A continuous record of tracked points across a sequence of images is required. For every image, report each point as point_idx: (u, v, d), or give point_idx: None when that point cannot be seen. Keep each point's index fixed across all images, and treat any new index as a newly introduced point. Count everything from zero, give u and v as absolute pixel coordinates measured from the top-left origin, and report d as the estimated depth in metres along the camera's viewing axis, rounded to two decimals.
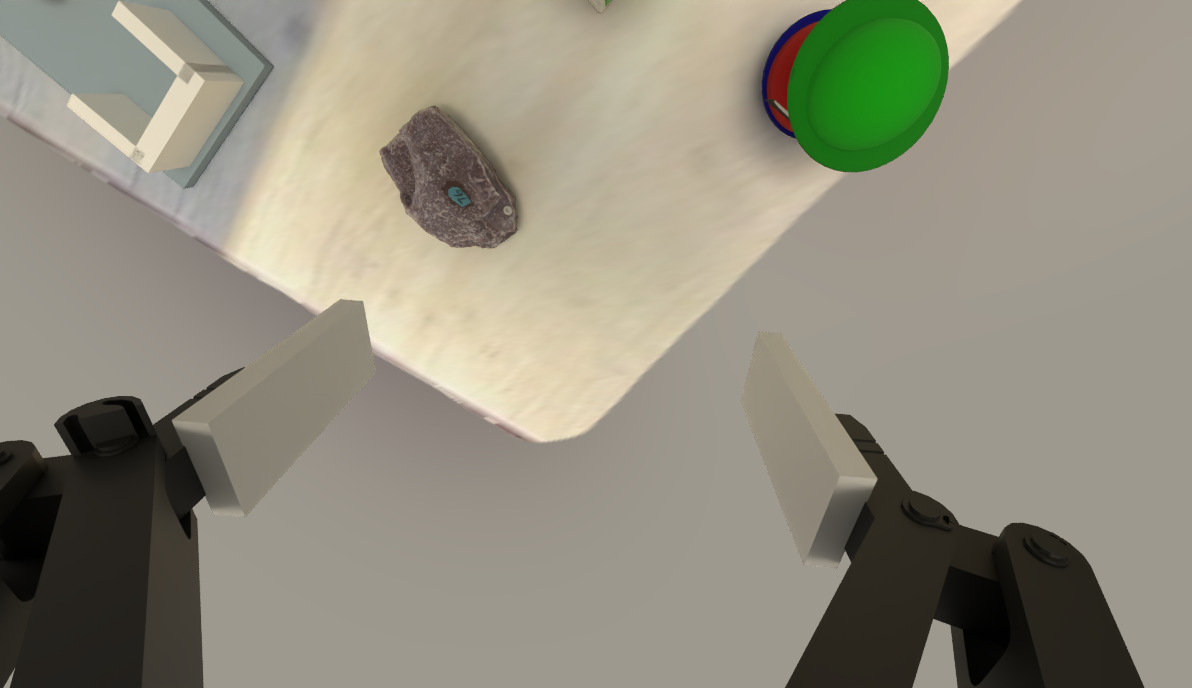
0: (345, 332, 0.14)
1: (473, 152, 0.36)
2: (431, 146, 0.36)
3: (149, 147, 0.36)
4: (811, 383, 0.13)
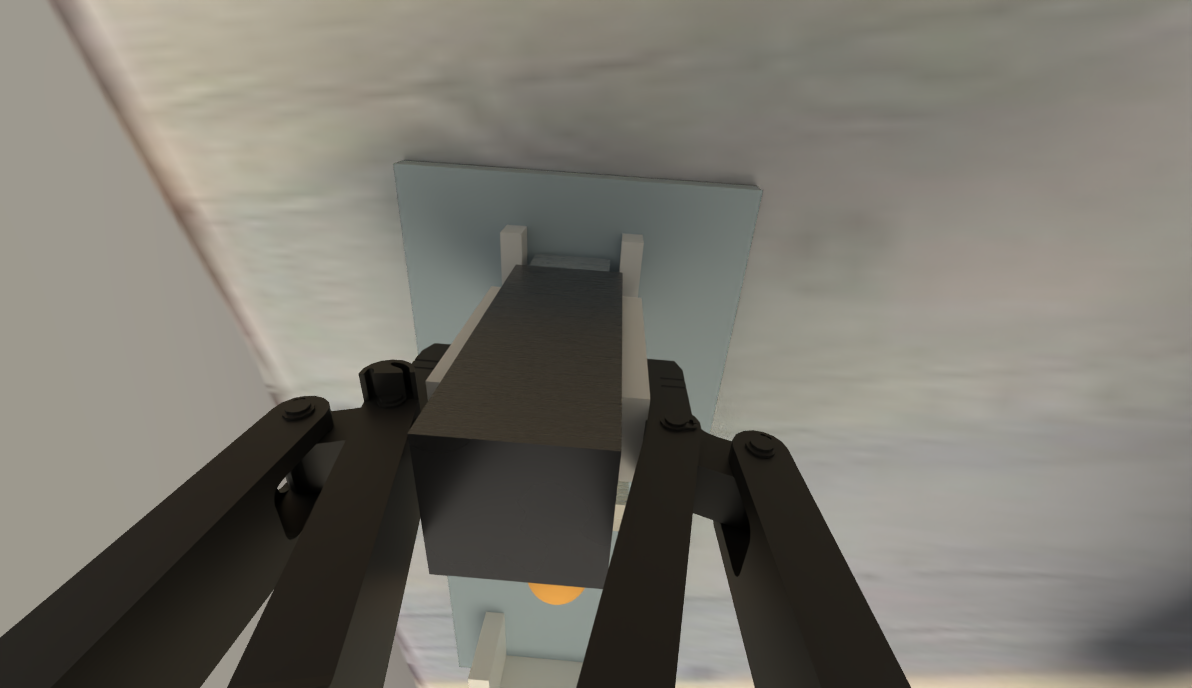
0: None
1: None
2: None
3: None
4: (642, 334, 0.15)
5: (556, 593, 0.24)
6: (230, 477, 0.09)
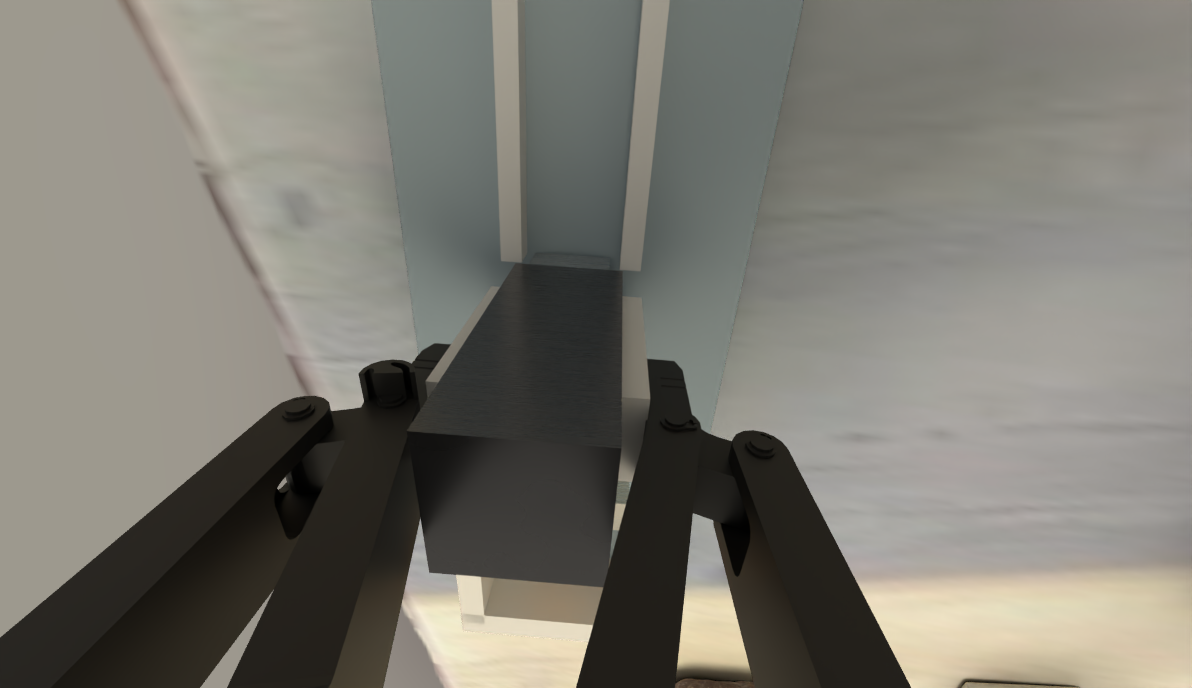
0: None
1: None
2: None
3: (499, 626, 0.24)
4: (642, 334, 0.15)
5: None
6: (230, 477, 0.09)
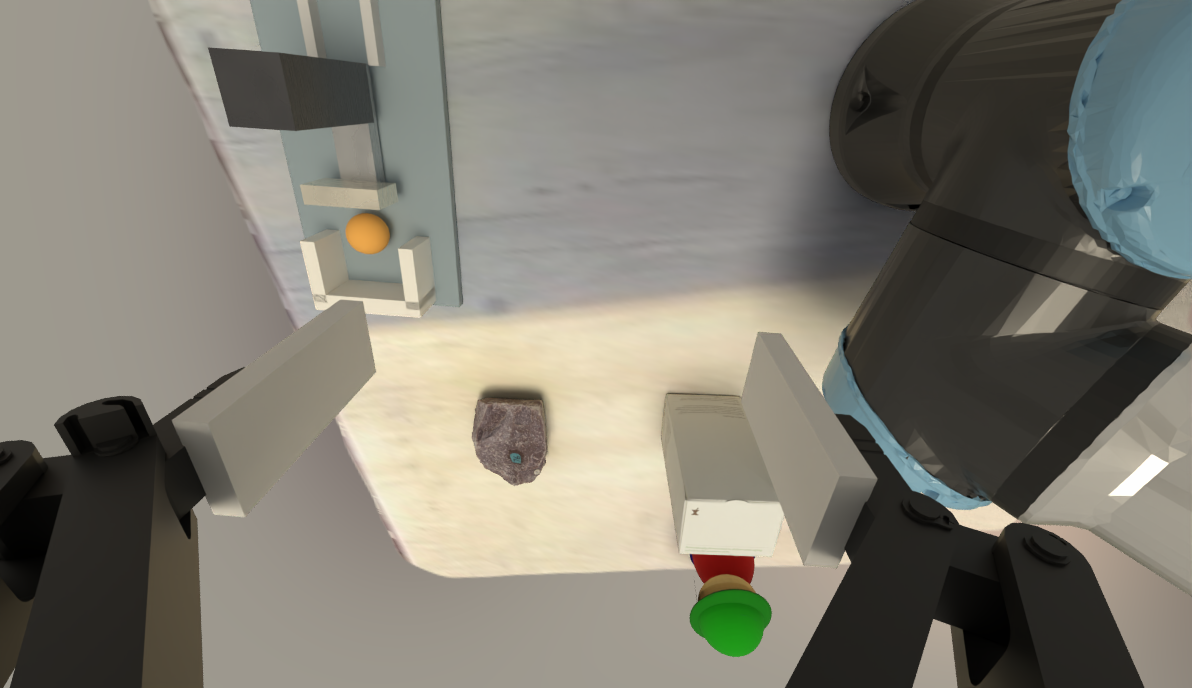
0: (344, 333, 0.14)
1: (545, 446, 0.50)
2: (523, 430, 0.49)
3: None
4: (811, 383, 0.13)
5: None
6: None
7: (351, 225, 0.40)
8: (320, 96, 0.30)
